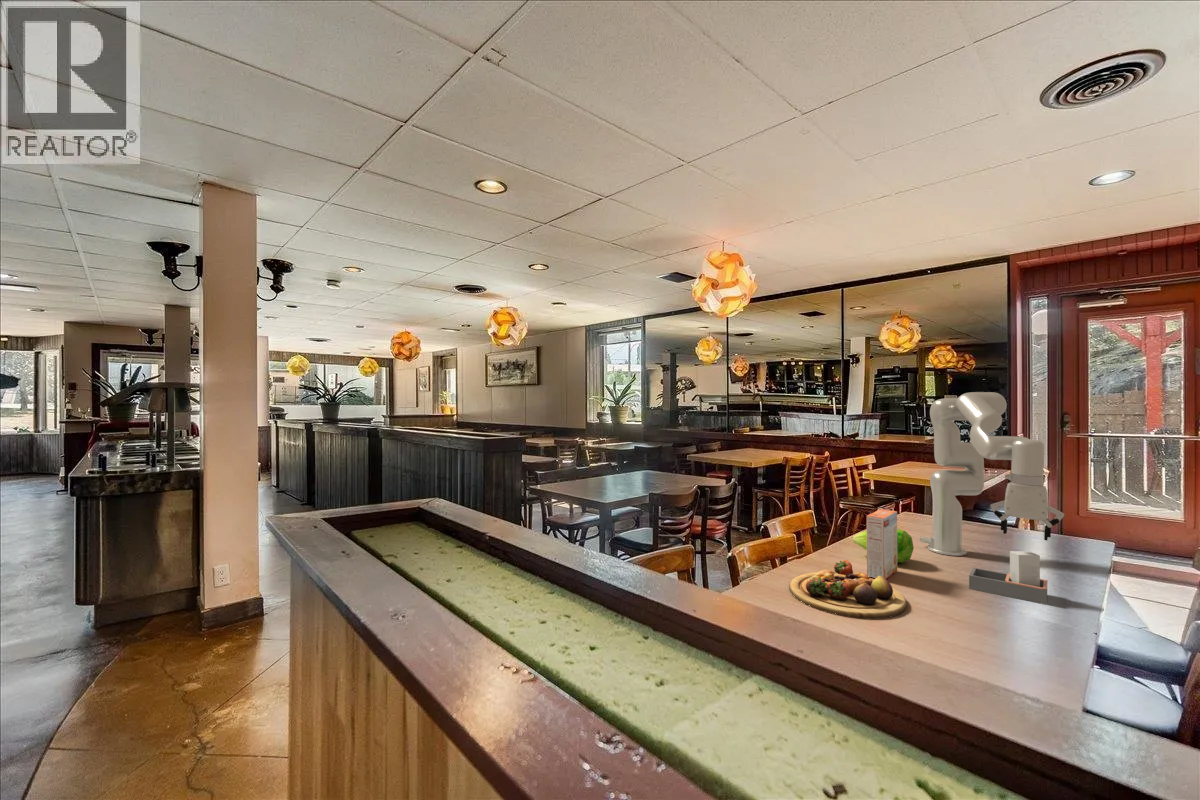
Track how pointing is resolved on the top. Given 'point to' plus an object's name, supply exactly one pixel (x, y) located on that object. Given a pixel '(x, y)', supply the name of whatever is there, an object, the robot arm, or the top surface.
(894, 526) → the cracker box
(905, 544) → the lettuce
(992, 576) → the box
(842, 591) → the wooden plate with food
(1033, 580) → the skincare box
